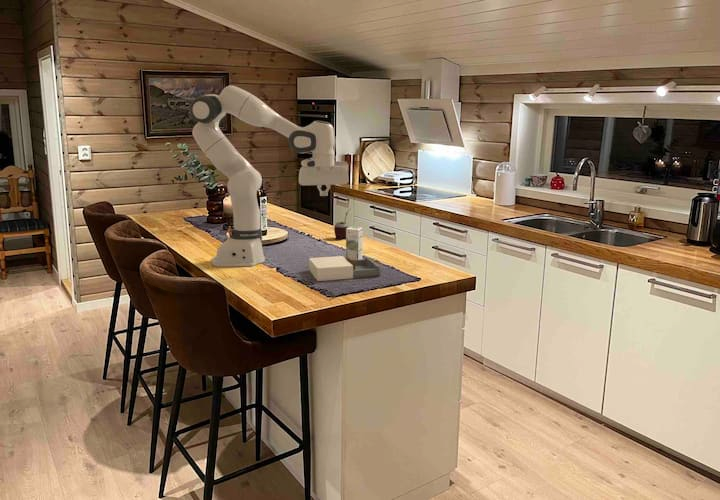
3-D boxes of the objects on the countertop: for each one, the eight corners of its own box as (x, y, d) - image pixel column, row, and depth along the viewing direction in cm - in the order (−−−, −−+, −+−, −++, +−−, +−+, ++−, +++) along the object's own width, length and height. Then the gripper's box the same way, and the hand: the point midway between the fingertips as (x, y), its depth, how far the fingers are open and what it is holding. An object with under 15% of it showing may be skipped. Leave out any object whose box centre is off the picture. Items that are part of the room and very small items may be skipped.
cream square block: (317, 281, 230) (317, 268, 229) (309, 270, 245) (308, 258, 243) (353, 278, 234) (353, 265, 232) (342, 267, 249) (342, 255, 247)
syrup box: (362, 259, 262) (363, 226, 258) (358, 262, 256) (358, 229, 253) (350, 258, 264) (350, 225, 260) (345, 261, 258) (345, 228, 255)
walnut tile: (350, 260, 238) (355, 259, 238) (347, 257, 242) (351, 256, 243) (350, 272, 239) (355, 272, 239) (347, 269, 243) (351, 268, 244)
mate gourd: (333, 240, 299) (332, 210, 295) (336, 236, 306) (336, 207, 303) (347, 240, 297) (347, 210, 294) (350, 237, 305) (350, 208, 301)
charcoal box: (353, 278, 234) (353, 268, 233) (343, 267, 249) (343, 258, 248) (379, 276, 237) (379, 266, 236) (367, 265, 252) (367, 256, 251)
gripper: (346, 160, 249) (346, 193, 252) (297, 161, 243) (298, 195, 247) (350, 161, 243) (350, 195, 246) (300, 162, 237) (301, 197, 241)
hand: (323, 195), depth 246 cm, fingers closed
